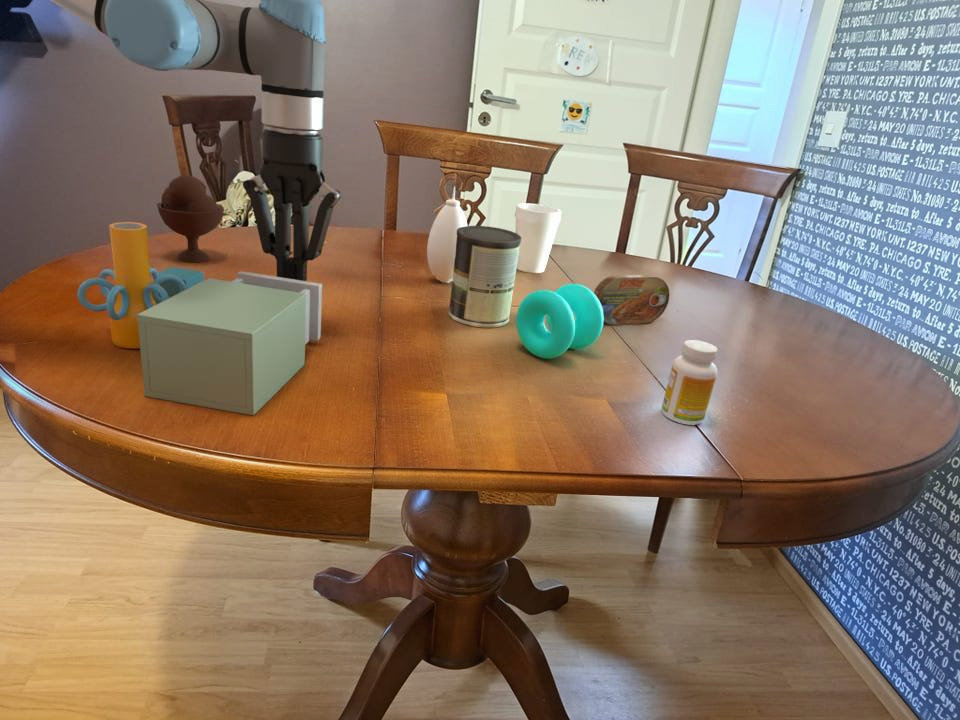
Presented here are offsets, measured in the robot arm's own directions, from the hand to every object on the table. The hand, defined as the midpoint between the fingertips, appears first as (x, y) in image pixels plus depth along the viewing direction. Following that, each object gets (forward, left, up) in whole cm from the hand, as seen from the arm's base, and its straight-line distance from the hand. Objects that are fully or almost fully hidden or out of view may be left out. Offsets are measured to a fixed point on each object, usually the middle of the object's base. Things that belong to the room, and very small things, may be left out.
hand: (291, 304), depth 94 cm
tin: (+50, +28, -4) cm, 57 cm away
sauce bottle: (+16, +35, -4) cm, 39 cm away
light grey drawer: (0, -7, -3) cm, 8 cm away
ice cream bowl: (-29, +25, -4) cm, 39 cm away
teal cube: (-18, +2, -4) cm, 19 cm away
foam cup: (+31, +54, -4) cm, 62 cm away
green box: (0, -18, -4) cm, 18 cm away
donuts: (+38, +8, -4) cm, 39 cm away
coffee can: (+25, +18, -4) cm, 31 cm away
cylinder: (-16, -12, -4) cm, 20 cm away
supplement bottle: (+55, -7, -4) cm, 55 cm away
